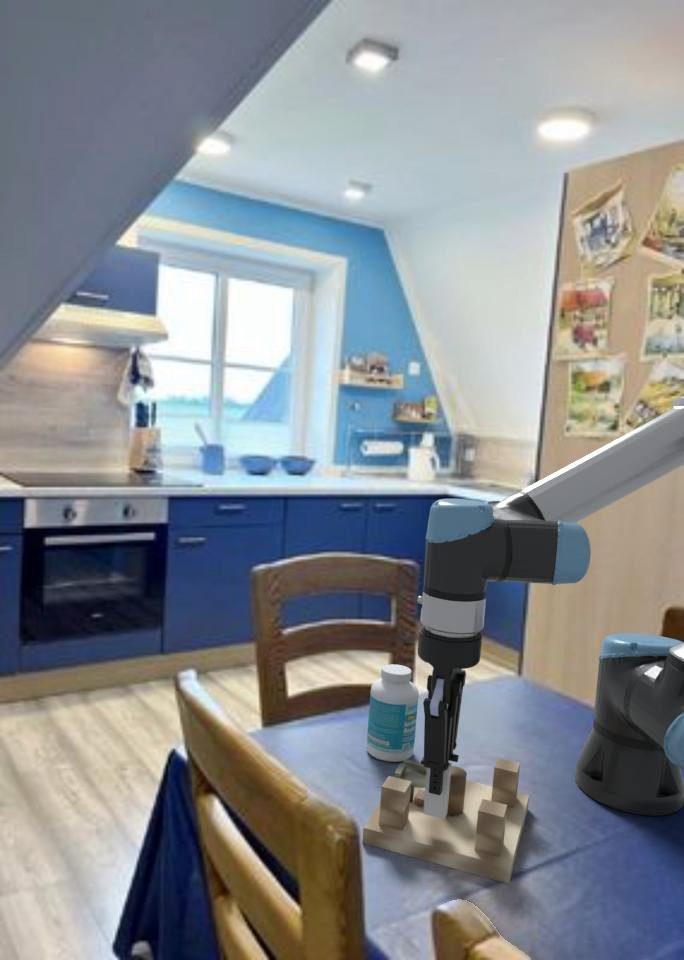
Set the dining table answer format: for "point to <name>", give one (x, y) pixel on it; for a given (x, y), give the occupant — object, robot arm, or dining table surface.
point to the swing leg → (450, 792)
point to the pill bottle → (392, 715)
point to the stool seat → (453, 822)
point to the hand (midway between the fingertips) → (435, 813)
